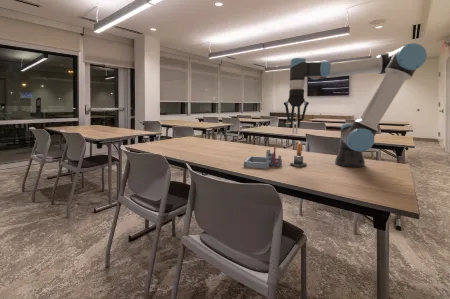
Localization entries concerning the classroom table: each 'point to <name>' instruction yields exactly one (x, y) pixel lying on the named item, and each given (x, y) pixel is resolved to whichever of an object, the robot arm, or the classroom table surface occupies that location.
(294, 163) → the crank base
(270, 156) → the grey red spired block
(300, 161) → the crank
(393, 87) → the robot arm
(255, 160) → the tray
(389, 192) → the classroom table surface
